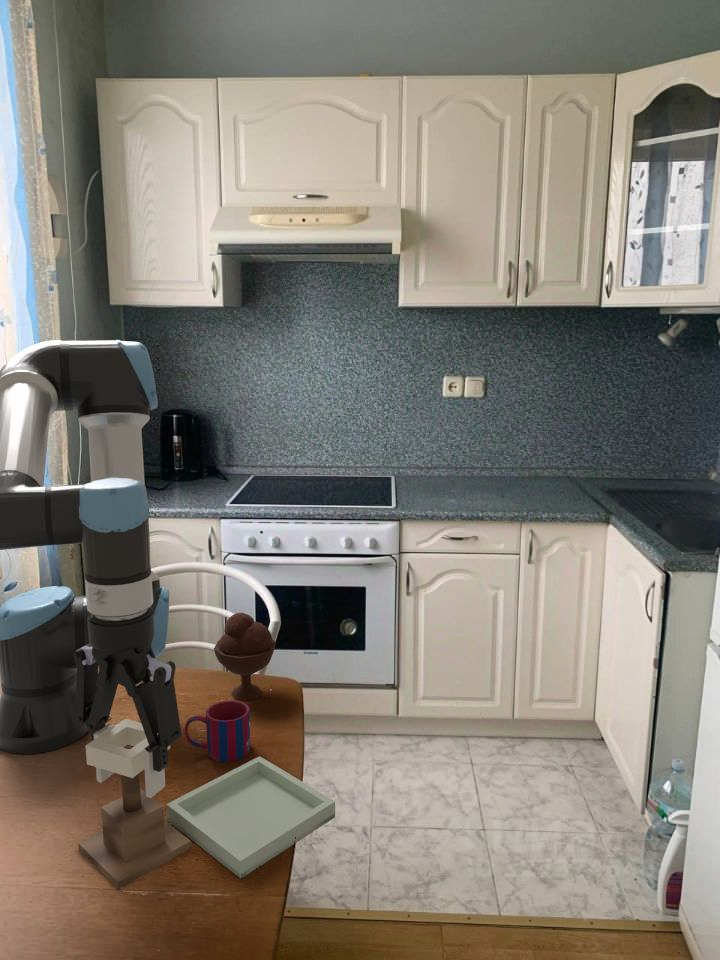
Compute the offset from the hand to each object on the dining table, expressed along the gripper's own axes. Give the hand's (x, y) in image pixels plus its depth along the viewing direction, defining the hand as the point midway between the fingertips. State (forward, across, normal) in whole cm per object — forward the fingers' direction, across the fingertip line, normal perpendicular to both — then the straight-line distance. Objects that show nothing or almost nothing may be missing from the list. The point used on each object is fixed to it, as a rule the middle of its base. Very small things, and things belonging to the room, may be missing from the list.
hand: (130, 783), depth 93 cm
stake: (+9, 0, 0) cm, 9 cm away
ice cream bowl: (+10, -10, +42) cm, 44 cm away
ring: (-4, 0, 0) cm, 4 cm away
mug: (+10, -3, +23) cm, 25 cm away
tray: (+9, +10, +11) cm, 18 cm away
